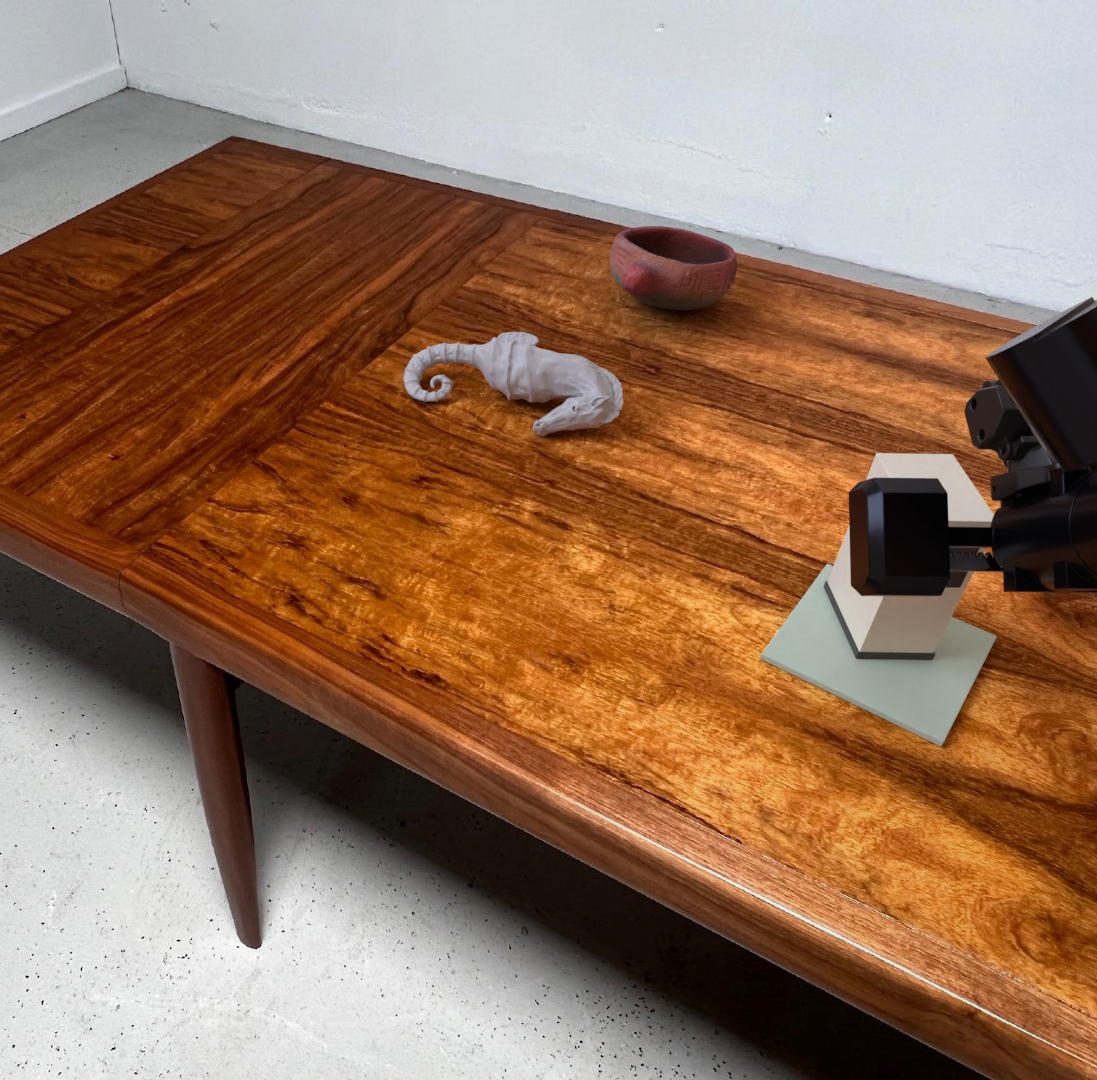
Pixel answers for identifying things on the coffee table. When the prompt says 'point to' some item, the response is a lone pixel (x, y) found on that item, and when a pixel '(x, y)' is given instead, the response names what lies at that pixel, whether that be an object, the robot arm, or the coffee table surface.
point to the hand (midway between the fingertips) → (949, 550)
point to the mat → (880, 667)
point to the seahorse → (527, 379)
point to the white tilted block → (907, 620)
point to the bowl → (672, 267)
